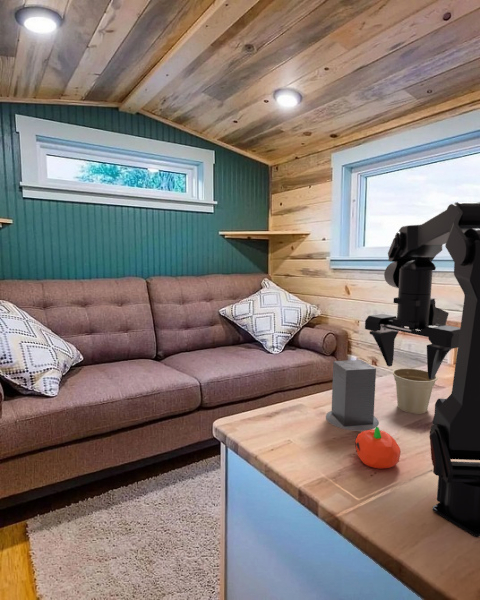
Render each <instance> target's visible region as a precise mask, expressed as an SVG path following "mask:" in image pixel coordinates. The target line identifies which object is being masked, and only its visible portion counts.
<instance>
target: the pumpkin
mask: <svg viewBox="0 0 480 600" xmlns="http://www.w3.org/2000/svg"><path fill="white" fill-rule="evenodd" d="M354 445H355V446H354V447H355V453H356V454H357V457H358V458H359V460H361V462H362V463H363V464H364V465H366V466H368V467H371V468H373V469H381V470H383V469H389V468H392V467H395V466H396V465H397V464H398V462H400V457H401V452H402V451H401V448H400V445H399V444H398V442H397V441H396V440H395V438H393V436H391V434H389V433H387V432H386V431H385V430H380V427H378V426H377V427H376V428H374V429H371V430H365V431H360V433H358V434H357V436H356V438H355V442H354Z"/></svg>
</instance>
